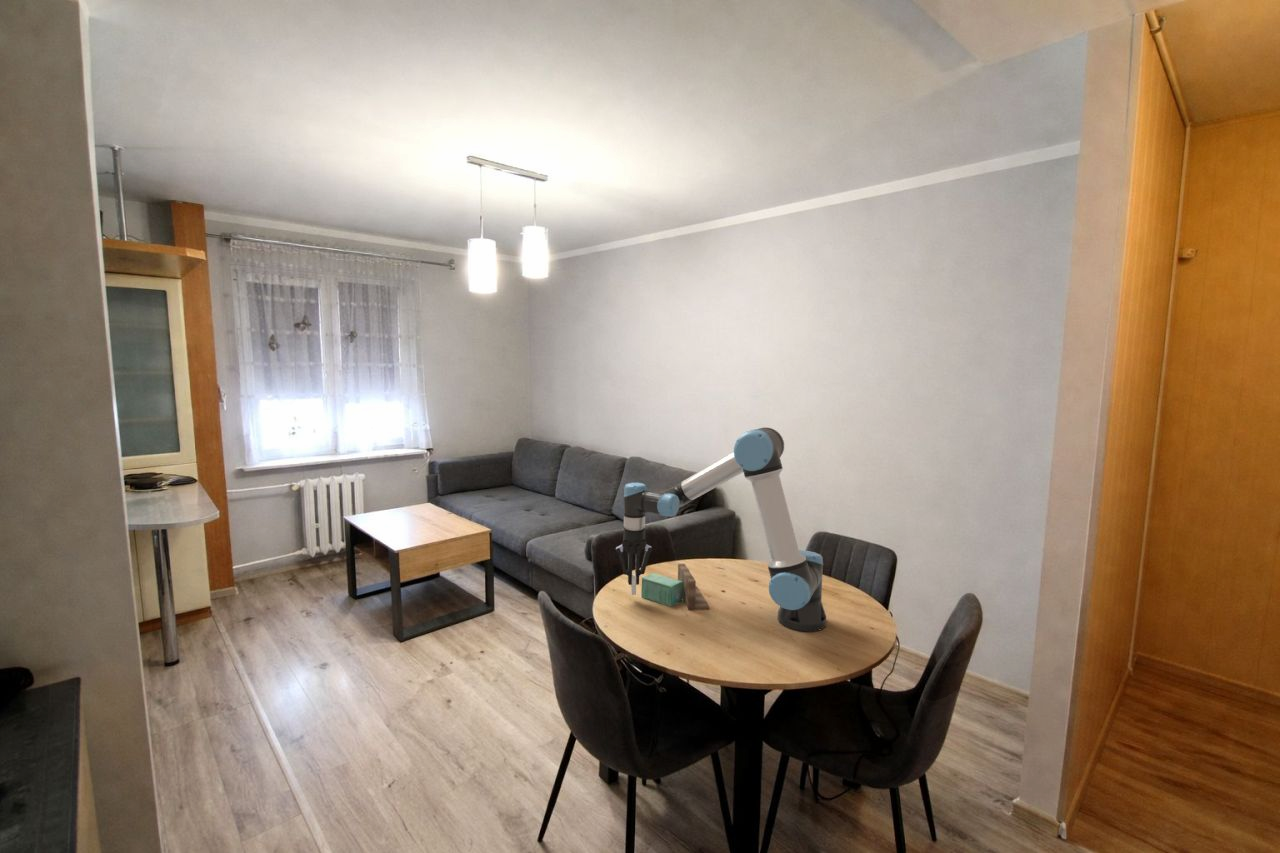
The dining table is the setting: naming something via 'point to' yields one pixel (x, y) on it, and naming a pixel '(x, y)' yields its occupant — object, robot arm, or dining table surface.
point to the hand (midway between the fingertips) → (633, 593)
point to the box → (662, 589)
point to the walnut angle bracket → (691, 590)
